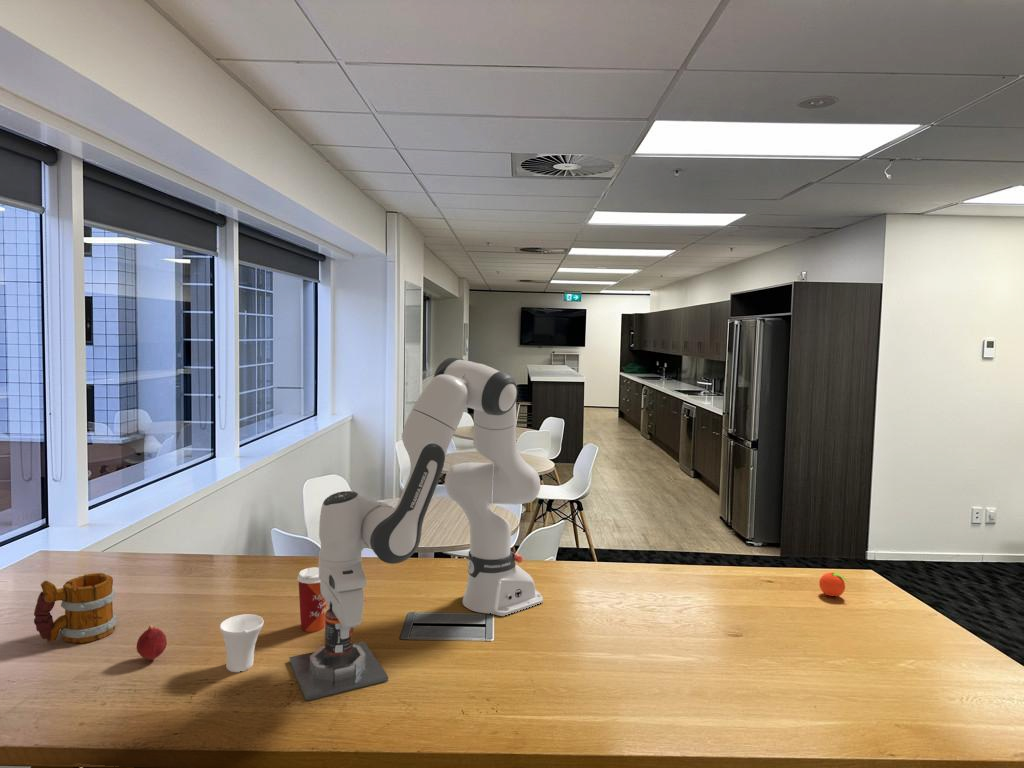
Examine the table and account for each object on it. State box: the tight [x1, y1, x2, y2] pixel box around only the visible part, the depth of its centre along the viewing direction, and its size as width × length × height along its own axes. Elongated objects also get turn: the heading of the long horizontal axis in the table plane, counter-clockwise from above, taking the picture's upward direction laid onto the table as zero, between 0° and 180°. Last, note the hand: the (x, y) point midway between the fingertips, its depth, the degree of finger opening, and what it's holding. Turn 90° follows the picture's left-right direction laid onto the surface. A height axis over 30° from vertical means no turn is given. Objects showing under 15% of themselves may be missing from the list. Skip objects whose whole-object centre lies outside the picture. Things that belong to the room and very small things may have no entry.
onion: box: [135, 624, 168, 661], centre depth 143 cm, size 6×6×8 cm
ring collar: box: [288, 641, 389, 702], centre depth 141 cm, size 17×17×4 cm
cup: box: [219, 613, 265, 673], centre depth 142 cm, size 9×9×10 cm
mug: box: [33, 572, 118, 644], centre depth 151 cm, size 11×16×15 cm, turn 137°
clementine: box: [818, 572, 850, 598], centre depth 192 cm, size 8×7×7 cm
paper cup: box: [296, 566, 327, 633], centre depth 161 cm, size 8×8×14 cm
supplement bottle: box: [324, 601, 354, 657], centre depth 140 cm, size 6×6×11 cm
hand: (339, 630), depth 141 cm, fingers closed on supplement bottle, 6 cm apart
